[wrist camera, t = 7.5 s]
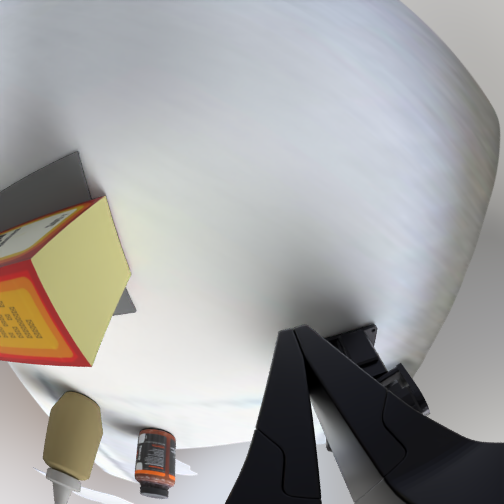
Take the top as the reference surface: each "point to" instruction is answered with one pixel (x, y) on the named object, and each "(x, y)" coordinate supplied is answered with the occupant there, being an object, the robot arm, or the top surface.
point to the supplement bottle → (155, 463)
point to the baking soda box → (60, 285)
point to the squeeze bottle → (71, 443)
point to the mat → (50, 201)
